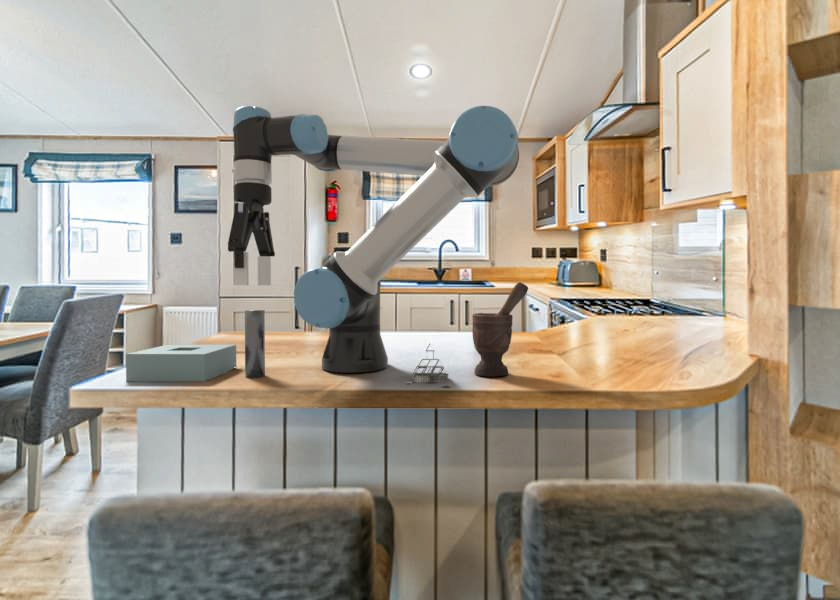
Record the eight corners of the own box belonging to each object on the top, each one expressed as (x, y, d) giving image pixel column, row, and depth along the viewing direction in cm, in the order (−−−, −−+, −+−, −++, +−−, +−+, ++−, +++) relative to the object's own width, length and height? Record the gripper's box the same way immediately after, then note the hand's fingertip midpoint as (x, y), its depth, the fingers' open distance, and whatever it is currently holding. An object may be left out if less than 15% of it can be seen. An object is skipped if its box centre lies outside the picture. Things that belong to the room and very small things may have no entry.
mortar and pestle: (523, 371, 110) (524, 282, 109) (529, 379, 101) (529, 281, 100) (471, 371, 111) (472, 282, 110) (472, 378, 102) (472, 281, 101)
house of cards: (405, 387, 94) (405, 347, 94) (404, 379, 103) (404, 342, 103) (452, 386, 95) (452, 347, 95) (446, 378, 104) (446, 342, 103)
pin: (268, 374, 106) (268, 310, 105) (258, 378, 102) (257, 311, 102) (252, 374, 107) (252, 309, 106) (241, 377, 103) (240, 310, 103)
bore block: (236, 368, 114) (236, 344, 114) (204, 381, 98) (204, 354, 98) (168, 368, 115) (168, 344, 115) (126, 381, 99) (125, 353, 99)
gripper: (256, 195, 116) (256, 285, 116) (208, 170, 91) (209, 285, 92) (287, 195, 116) (288, 285, 116) (248, 170, 91) (249, 285, 91)
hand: (253, 285), depth 104 cm, fingers open, 13 cm apart
